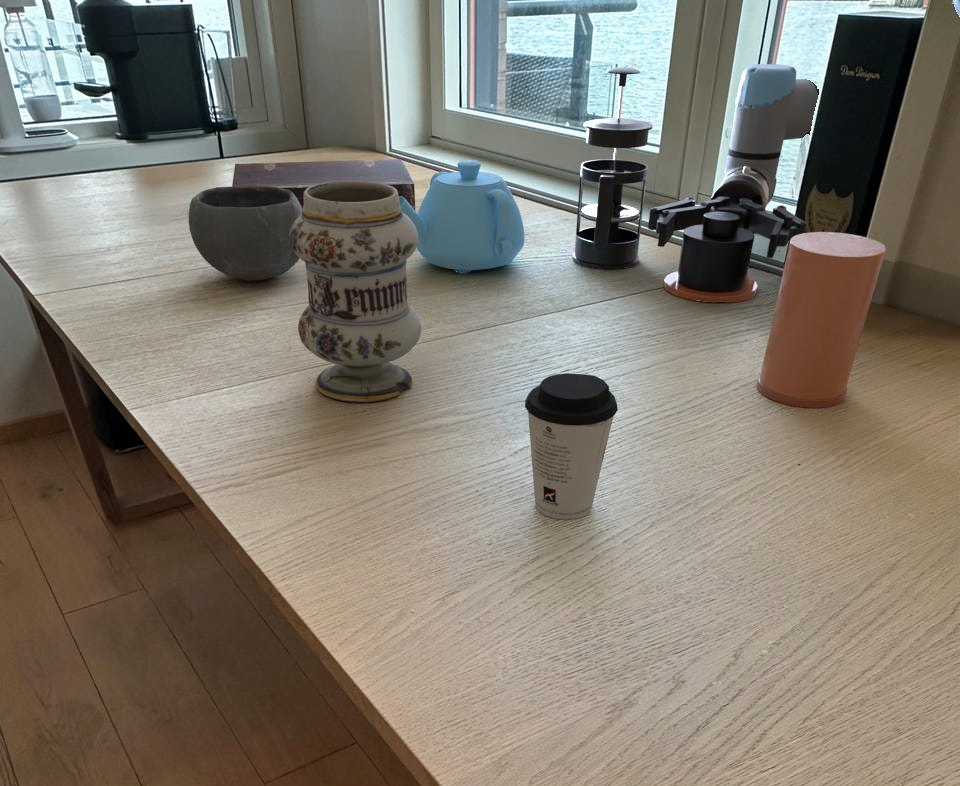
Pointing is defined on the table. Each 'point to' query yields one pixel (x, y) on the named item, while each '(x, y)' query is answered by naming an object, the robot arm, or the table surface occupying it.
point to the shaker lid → (715, 254)
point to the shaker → (819, 317)
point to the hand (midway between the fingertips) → (715, 240)
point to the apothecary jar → (357, 287)
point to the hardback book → (325, 175)
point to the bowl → (245, 230)
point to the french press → (611, 190)
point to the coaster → (688, 293)
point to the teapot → (467, 220)
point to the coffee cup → (568, 441)
